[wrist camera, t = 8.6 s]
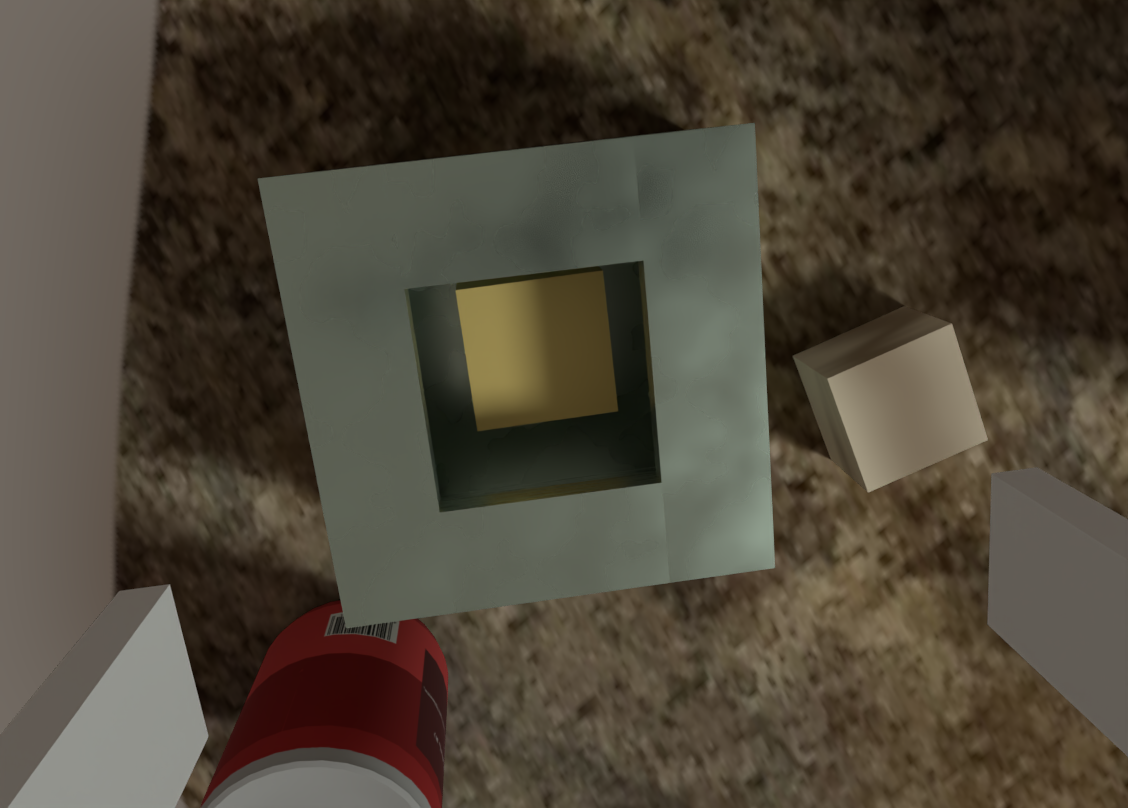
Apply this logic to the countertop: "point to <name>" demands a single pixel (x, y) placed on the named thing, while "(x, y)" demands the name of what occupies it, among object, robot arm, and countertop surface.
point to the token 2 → (891, 396)
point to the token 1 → (537, 347)
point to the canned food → (340, 720)
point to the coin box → (547, 449)
